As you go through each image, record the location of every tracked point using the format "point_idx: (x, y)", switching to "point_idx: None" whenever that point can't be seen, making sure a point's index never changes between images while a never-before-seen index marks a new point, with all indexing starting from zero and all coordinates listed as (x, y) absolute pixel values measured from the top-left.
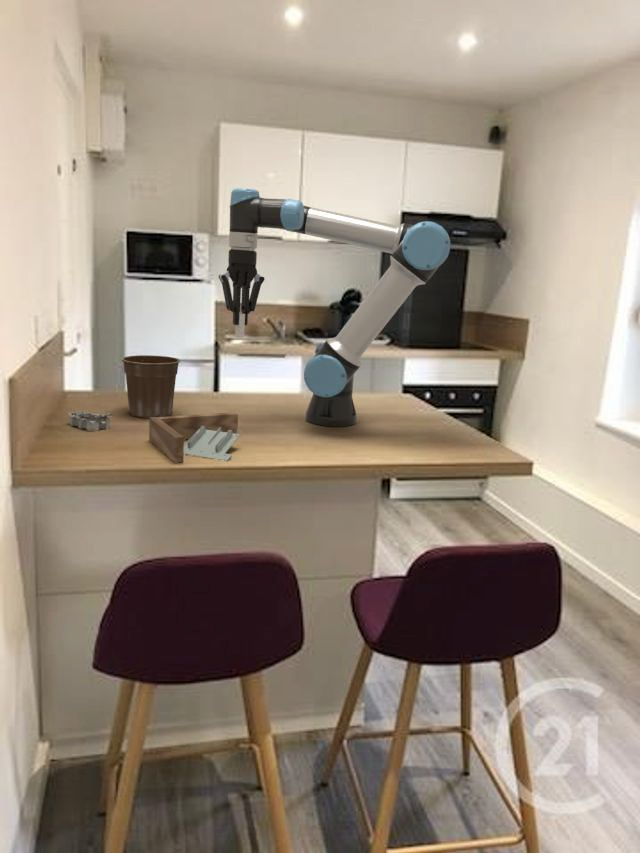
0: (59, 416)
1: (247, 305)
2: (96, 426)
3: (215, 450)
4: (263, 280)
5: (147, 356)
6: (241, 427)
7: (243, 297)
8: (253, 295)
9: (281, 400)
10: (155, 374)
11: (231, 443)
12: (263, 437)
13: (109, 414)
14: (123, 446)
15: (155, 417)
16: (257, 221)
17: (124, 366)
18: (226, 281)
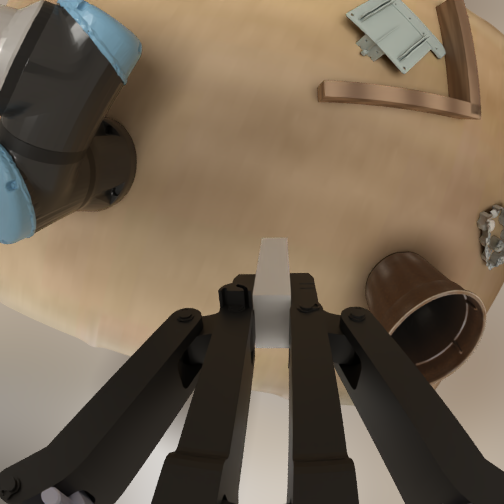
0: (494, 292)
1: (225, 334)
2: (498, 206)
3: (393, 2)
4: (11, 471)
5: None
6: (283, 145)
7: (243, 405)
8: (147, 398)
9: (136, 321)
10: (448, 282)
11: (365, 4)
12: (270, 66)
13: (489, 224)
14: (489, 110)
15: (473, 115)
16: None
17: (472, 331)
18: (480, 483)
